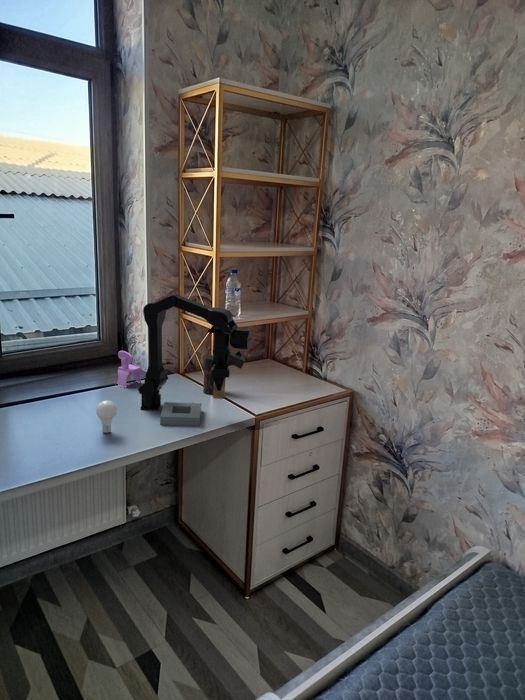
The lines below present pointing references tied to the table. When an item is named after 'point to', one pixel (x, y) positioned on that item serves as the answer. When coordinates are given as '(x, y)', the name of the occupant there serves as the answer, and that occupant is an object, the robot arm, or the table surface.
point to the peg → (217, 393)
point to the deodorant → (208, 376)
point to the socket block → (180, 414)
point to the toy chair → (127, 369)
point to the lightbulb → (106, 414)
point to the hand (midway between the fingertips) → (219, 388)
